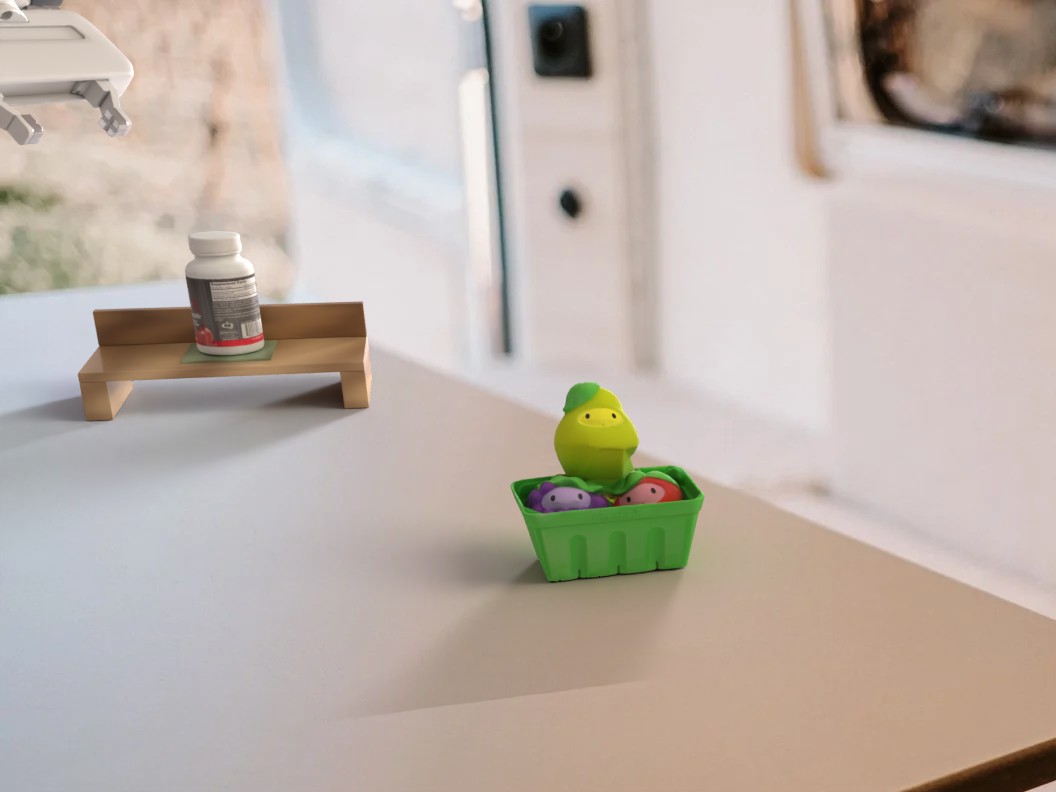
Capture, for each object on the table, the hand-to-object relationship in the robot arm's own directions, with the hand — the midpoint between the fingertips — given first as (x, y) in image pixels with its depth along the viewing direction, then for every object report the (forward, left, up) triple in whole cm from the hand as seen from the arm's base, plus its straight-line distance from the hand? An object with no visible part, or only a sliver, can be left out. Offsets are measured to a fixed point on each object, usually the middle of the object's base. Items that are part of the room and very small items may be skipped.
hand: (79, 135), depth 135 cm
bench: (+10, -7, -21) cm, 25 cm away
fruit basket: (+37, -55, -21) cm, 70 cm away
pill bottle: (+10, -7, -17) cm, 21 cm away
